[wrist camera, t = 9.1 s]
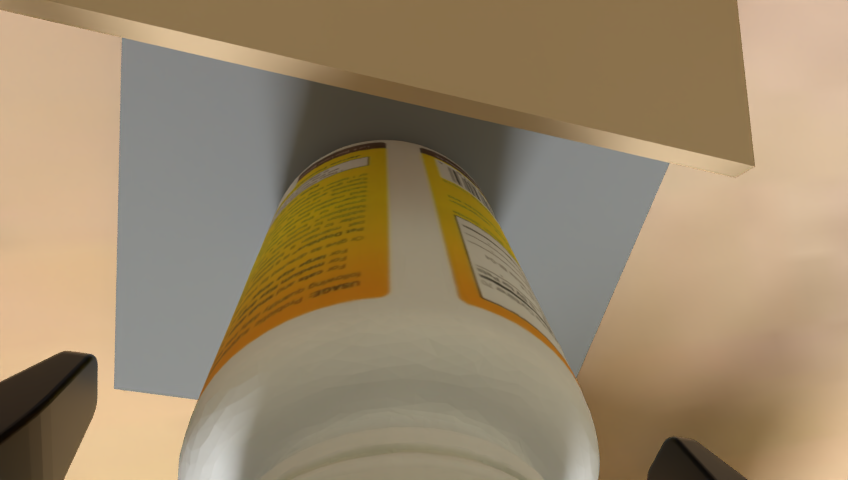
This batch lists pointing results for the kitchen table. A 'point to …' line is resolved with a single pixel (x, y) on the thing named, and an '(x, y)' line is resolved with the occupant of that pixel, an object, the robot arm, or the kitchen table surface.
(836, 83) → the kitchen table surface
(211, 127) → the slate mat
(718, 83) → the carton
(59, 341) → the kitchen table surface
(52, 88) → the kitchen table surface
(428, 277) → the supplement bottle
